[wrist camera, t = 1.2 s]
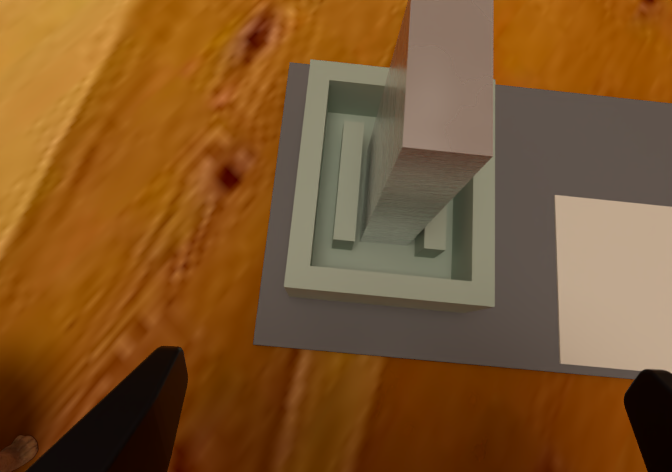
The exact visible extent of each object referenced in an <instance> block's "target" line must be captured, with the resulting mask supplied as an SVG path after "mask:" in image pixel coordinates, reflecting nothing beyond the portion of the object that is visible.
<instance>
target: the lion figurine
mask: <svg viewBox="0 0 672 472" xmlns="http://www.w3.org/2000/svg"><path fill="white" fill-rule="evenodd" d="M37 451H38V446H37V442H36V440H35V439H34V438H33V437H32V436H23V435H19V436H18V437H16V438H15V440H14V441H13V443H12V444H11V445H9V446H7V447H5V448H4V449H3V450H2V451H1V452H0V472H11V471H13V470H15V469H17V468H19V467H20V466H22V465H24V464H25V463H27V462H28V461H30V460H31V459H32V458H33V457H34V456H35V455H36V453H37Z"/></svg>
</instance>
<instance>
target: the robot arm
mask: <svg viewBox="0 0 672 472" xmlns="http://www.w3.org/2000/svg"><path fill="white" fill-rule="evenodd" d="M187 382H188V374H187V368H186V363H185V357H184V352H183V350H182V348H181V347H175V346H161V347H159V348H157V349H156V350H155V351H154V352H152V353H151V354H150V355H149V356H148V357H147V358H146V359H145V360H144V361H143V362H142V363H141V364H140V365H139V366H137V367H136V368H135V369H134V370H133V371H132V372H131V373H130V374H129V375H128V376H127V377H126V378H125V379H124V380H122V381H121V382H120V383H119V384H118V385H117V386H116V387H115V388H114V389H113V390H112V391H111V392H110V393H109V394H107V395H106V396H105V397H104V398H103V399H102V400H101V401H100V402H99V403H98V404H97V405H96V406H95V407H94V408H92V409H91V410H90V411H89V412H88V413H87V414H86V415H85V416H84V417H83V418H82V419H81V420H80V421H78V422H77V423H76V424H75V425H74V426H73V427H72V428H71V429H70V430H69V431H68V432H67V433H66V434H65V435H63V436H62V437H61V438H60V439H59V440H58V441H57V442H56V443H55V444H54V445H53V446H52V447H51V448H50V449H48V450H47V451H46V452H45V453H44V454H43V455H42V456H41V457H40V458H39V459H38V460H37V461H36V462H35V463H33V464H32V465H31V466H30V467H29V468H28V469H27V470H26V471H25V472H167V470H168V467H169V463H170V459H171V455H172V450H173V446H174V441H175V437H176V433H177V428H178V424H179V419H180V415H181V411H182V406H183V402H184V397H185V393H186V389H187ZM624 405H625V409H626V412H627V414H628V417H629V420H630V423H631V426H632V429H633V431H634V434H635V437H636V440H637V443H638V446H639V448H640V451H641V454H642V457H643V460H644V462H645V465H646V468H647V471H648V472H672V373H670V372H668V371H666V370H661V369H644V370H642V371H641V372H640V373H639V374H638V375H637V377H636V378H635V380H634V381H633V383H632V384H631V386H630V387H629V389H628V390H627V391H626V393H625V396H624Z"/></svg>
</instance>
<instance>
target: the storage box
mask: <svg viewBox="0 0 672 472" xmlns="http://www.w3.org/2000/svg"><path fill="white" fill-rule="evenodd" d="M388 72H389V68H385V67H376V66H367V65H358V64H349V63H339V62H330V61H321V60H312V59H311V60H310V69H309V77H308V86H307V94H306V103H305V111H304V120H303V128H302V137H301V145H300V154H299V162H298V171H297V179H296V188H295V196H294V205H293V213H292V222H291V230H290V239H289V247H288V256H287V264H286V273H285V281H284V288H285V290H286V292H287V294H288V296H289V297H298V298H308V299H319V300H329V301H340V302H351V303H361V304H372V305H382V306H393V307H404V308H414V309H425V310H436V311H446V312H457V313H467V312H472V311H477V310H482V309H487V308H492V307H495V79H493V157H492V158H491V159H490V160H489V161H488V162H487V163H486V164H485V165H484V166H483V167H482V168H481V169H480V170H479V171H478V172H477V173H476V174H475V176H474V177H473V178H472V179H471V180H470V181H469V182H468V183H467V184H466V185H465V186H464V187H463V188H462V189H461V190H460V191H459V192H458V193H457V194H456V195H455V196H454V197H453V199H452V200H451V201H450V202H449V203H448V204H447V205H446V206H445V207H444V208H443V209H442V210H441V211H440V212H439V213H438V214H437V215H436V216H435V217H434V218H433V219H432V220H431V222H430V223H429V224H428V225H427V226H426V227H425V228H424V229H423V230H422V231H421V232H420V233H419V234H418V235H417V236H416V237H415V238H414V239H413V240H412V241H411V242H410V243H409V244H408V246H401V245H391V244H381V243H371V242H361V241H360V234H361V221H362V209H363V196H364V183H365V170H366V157H367V149H368V145H369V141H370V138H371V134H372V130H373V127H374V123H375V120H376V116H377V112H378V109H379V105H380V101H381V98H382V94H383V90H384V87H385V83H386V79H387V76H388Z"/></svg>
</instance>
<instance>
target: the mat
mask: <svg viewBox="0 0 672 472" xmlns="http://www.w3.org/2000/svg"><path fill="white" fill-rule="evenodd" d="M309 69H310V65H309V64H300V63H291V62H290V65H289V73H288V81H287V88H286V96H285V104H284V111H283V119H282V127H281V134H280V142H279V150H278V157H277V165H276V173H275V180H274V188H273V196H272V203H271V211H270V219H269V226H268V234H267V241H266V249H265V257H264V264H263V272H262V280H261V287H260V295H259V303H258V310H257V318H256V326H255V333H254V341H253V344H254V345H265V346H276V347H287V348H298V349H309V350H320V351H331V352H342V353H353V354H364V355H375V356H386V357H397V358H407V359H418V360H429V361H440V362H451V363H462V364H473V365H484V366H495V367H506V368H517V369H528V370H539V371H550V372H561V373H572V374H583V375H594V376H605V377H616V378H627V379H635V378H636V377H637V375H638V374H639V373H640V372H641V371H642V370H644V369H661V370H666V371H668V372H670V373H672V104H671V103H661V102H652V101H643V100H634V99H624V98H615V97H606V96H596V95H587V94H578V93H569V92H559V91H550V90H541V89H532V88H522V87H513V86H504V85H495V307H492V308H487V309H482V310H477V311H472V312H467V313H457V312H446V311H436V310H425V309H414V308H404V307H393V306H382V305H372V304H361V303H351V302H340V301H329V300H319V299H308V298H298V297H289V296H288V294H287V292H286V290H285V288H284V281H285V273H286V264H287V256H288V247H289V239H290V230H291V222H292V213H293V205H294V196H295V188H296V179H297V171H298V162H299V154H300V145H301V137H302V128H303V120H304V111H305V103H306V94H307V86H308V77H309Z"/></svg>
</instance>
